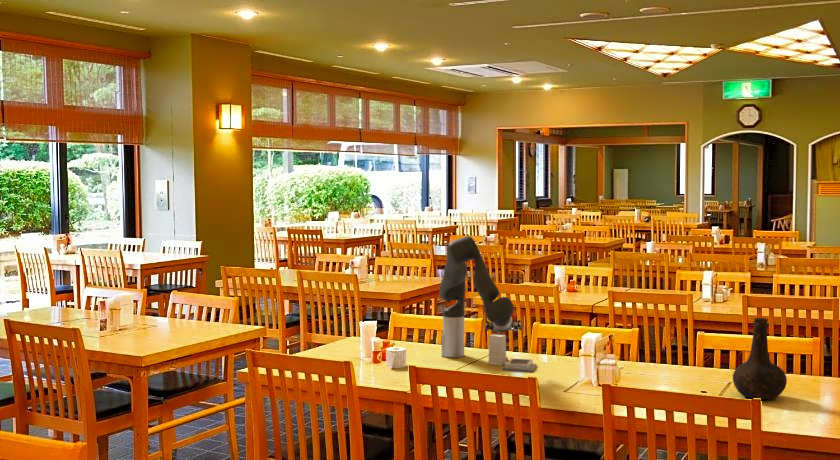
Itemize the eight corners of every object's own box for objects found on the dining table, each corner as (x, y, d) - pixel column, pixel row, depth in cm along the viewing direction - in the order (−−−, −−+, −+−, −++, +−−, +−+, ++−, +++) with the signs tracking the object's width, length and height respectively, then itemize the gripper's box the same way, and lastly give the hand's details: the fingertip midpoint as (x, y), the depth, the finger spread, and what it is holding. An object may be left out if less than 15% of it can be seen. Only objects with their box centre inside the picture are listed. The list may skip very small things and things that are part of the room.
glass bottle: (758, 406, 305) (760, 324, 304) (721, 394, 322) (723, 316, 320) (797, 400, 312) (800, 320, 311) (759, 389, 329) (761, 313, 327)
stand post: (492, 360, 378) (492, 325, 377) (494, 357, 383) (495, 323, 383) (506, 361, 376) (507, 326, 375) (508, 358, 382) (509, 324, 381)
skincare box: (506, 364, 371) (506, 335, 371) (501, 366, 368) (501, 336, 367) (493, 362, 375) (493, 333, 374) (488, 364, 371) (488, 335, 370)
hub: (502, 370, 360) (502, 363, 359) (507, 364, 371) (507, 357, 371) (532, 372, 357) (532, 365, 356) (536, 365, 368) (536, 359, 368)
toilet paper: (391, 370, 360) (391, 352, 360) (383, 364, 371) (383, 347, 370) (410, 368, 363) (410, 351, 362) (403, 363, 373) (403, 346, 373)
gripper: (520, 310, 344) (522, 320, 359) (483, 311, 346) (486, 320, 361) (521, 329, 341) (522, 338, 356) (483, 330, 343) (486, 339, 358)
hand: (504, 329), depth 359 cm, fingers open, 8 cm apart
